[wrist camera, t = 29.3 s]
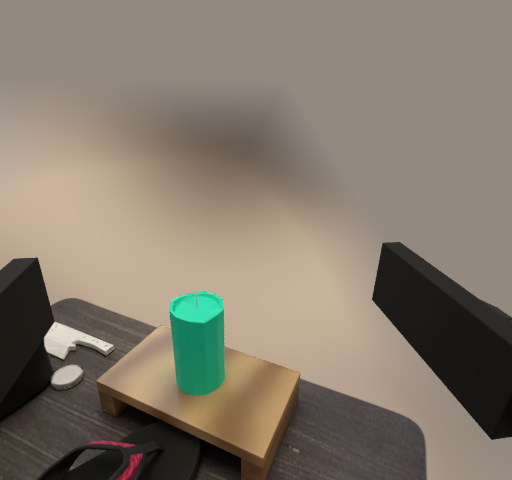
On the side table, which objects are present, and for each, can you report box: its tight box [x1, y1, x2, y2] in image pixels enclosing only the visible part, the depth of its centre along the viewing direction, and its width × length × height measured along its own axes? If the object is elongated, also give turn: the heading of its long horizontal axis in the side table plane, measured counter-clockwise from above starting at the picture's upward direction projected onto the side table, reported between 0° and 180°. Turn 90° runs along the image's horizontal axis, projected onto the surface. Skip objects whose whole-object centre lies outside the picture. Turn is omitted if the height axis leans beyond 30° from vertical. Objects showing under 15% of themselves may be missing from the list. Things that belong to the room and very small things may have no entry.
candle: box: [170, 292, 225, 396], centre depth 38 cm, size 6×6×12 cm
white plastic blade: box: [44, 322, 114, 360], centre depth 52 cm, size 5×15×1 cm, turn 65°
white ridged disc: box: [50, 364, 84, 390], centre depth 46 cm, size 4×4×1 cm
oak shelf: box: [96, 325, 300, 480], centre depth 42 cm, size 22×12×5 cm, turn 66°
